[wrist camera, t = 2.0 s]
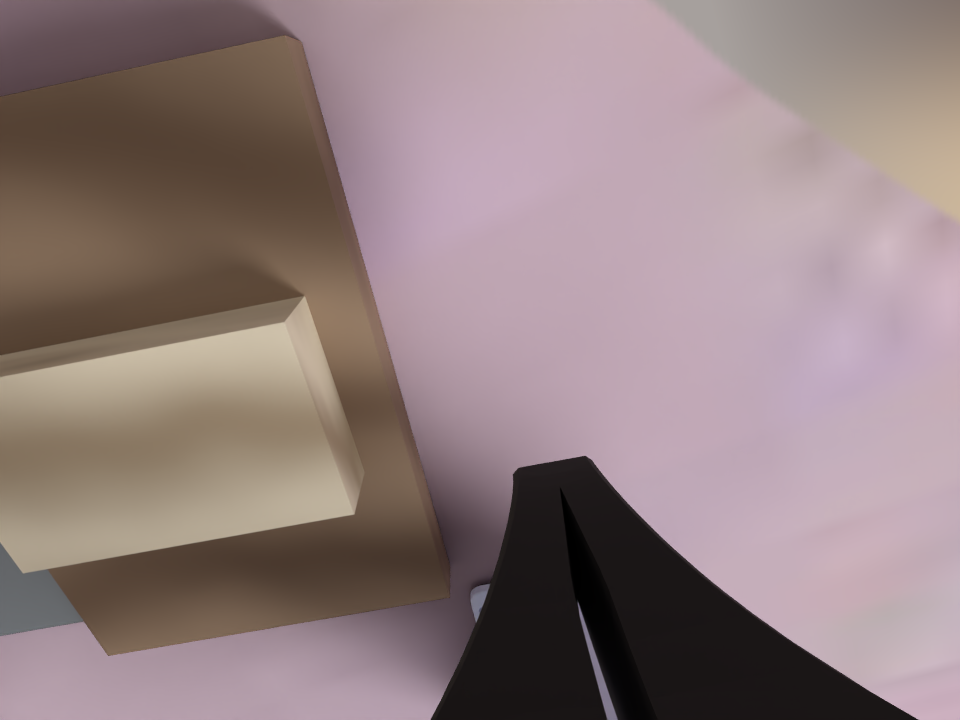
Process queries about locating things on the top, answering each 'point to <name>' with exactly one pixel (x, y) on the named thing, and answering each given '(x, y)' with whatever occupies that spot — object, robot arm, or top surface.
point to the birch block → (171, 437)
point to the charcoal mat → (31, 599)
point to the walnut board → (207, 290)
